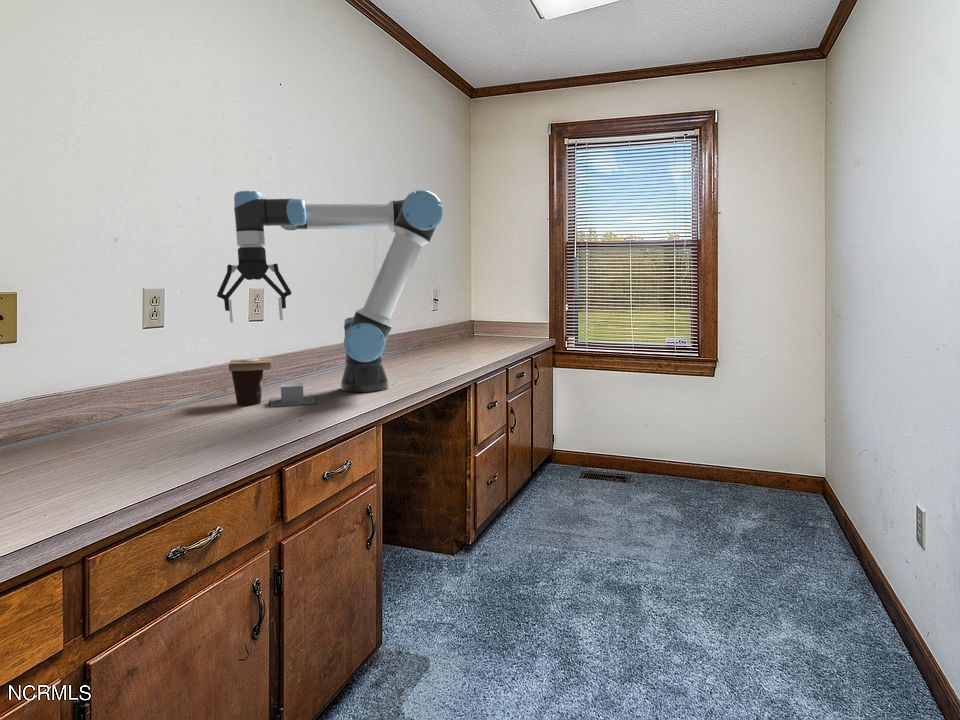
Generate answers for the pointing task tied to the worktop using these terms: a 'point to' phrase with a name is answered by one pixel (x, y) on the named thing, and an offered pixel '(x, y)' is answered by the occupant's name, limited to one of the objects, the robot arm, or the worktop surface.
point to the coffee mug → (248, 386)
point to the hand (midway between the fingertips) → (256, 321)
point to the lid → (250, 364)
